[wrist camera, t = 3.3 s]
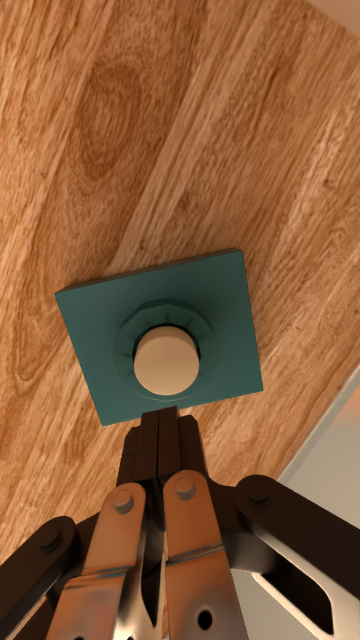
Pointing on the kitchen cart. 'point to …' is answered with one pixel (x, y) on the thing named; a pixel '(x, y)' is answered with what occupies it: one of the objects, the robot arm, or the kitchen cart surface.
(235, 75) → the kitchen cart surface
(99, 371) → the push button base
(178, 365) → the button
